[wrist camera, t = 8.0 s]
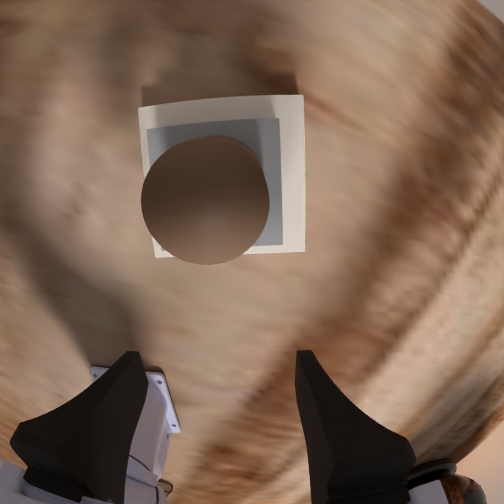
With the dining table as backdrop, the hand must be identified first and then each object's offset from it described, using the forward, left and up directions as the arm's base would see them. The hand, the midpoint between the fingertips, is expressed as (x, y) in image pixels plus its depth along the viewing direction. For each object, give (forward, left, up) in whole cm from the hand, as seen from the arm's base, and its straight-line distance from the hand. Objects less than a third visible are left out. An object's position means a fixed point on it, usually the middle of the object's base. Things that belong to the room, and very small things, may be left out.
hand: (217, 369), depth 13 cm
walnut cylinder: (+7, 0, -6) cm, 10 cm away
